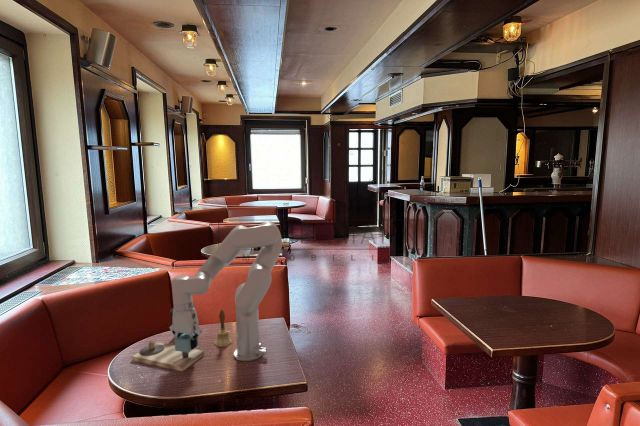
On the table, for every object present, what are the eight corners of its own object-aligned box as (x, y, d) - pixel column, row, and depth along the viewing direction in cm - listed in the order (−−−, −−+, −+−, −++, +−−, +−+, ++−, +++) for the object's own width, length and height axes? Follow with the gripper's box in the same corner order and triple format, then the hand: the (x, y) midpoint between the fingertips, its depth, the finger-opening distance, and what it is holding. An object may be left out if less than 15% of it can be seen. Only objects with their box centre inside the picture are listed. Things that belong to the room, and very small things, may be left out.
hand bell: (229, 346, 171) (228, 313, 169) (211, 346, 171) (210, 313, 169) (234, 338, 179) (233, 306, 177) (217, 338, 179) (215, 306, 177)
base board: (204, 355, 163) (203, 342, 162) (182, 371, 150) (181, 357, 149) (155, 345, 172) (154, 333, 172) (130, 360, 159) (129, 346, 158)
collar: (198, 345, 159) (197, 334, 159) (188, 352, 153) (187, 341, 153) (186, 343, 162) (185, 332, 161) (175, 350, 155) (174, 339, 155)
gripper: (206, 304, 156) (209, 345, 158) (173, 300, 162) (176, 340, 164) (194, 311, 149) (198, 353, 151) (160, 307, 155) (164, 348, 157)
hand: (186, 346), depth 157 cm, fingers closed on collar, 6 cm apart
